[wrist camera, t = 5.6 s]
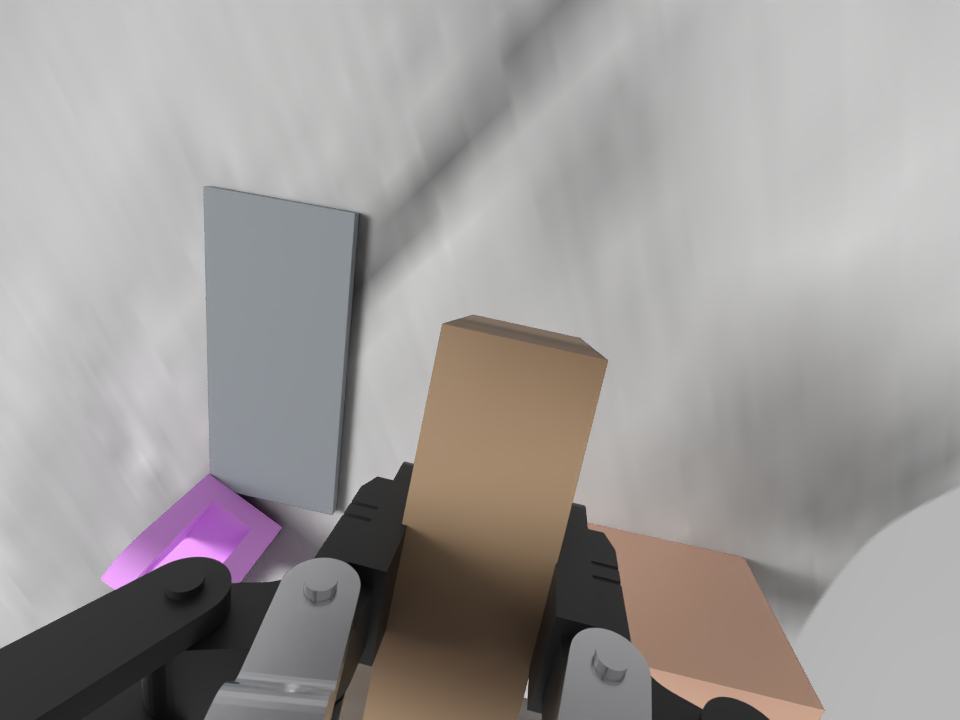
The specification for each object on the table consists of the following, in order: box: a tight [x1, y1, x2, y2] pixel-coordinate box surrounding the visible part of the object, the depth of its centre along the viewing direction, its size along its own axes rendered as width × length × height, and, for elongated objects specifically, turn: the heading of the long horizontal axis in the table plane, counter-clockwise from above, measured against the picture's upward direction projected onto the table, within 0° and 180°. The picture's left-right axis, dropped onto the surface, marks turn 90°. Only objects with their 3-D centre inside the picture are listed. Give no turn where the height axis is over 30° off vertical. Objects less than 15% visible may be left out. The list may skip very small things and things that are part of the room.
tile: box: [587, 523, 825, 720], centre depth 25 cm, size 2×12×9 cm, turn 81°
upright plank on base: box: [341, 315, 608, 720], centre depth 12 cm, size 12×7×5 cm, turn 169°
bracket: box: [101, 474, 282, 590], centre depth 30 cm, size 13×6×7 cm, turn 140°
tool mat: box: [204, 186, 359, 515], centre depth 28 cm, size 18×8×1 cm, turn 171°
